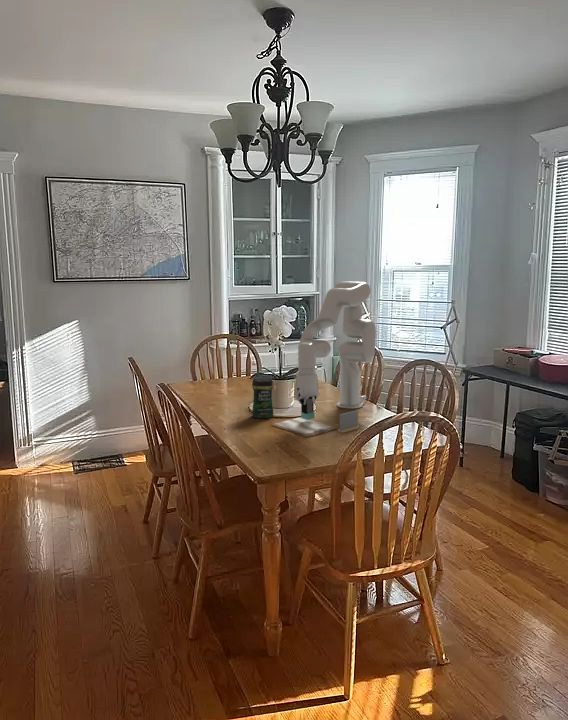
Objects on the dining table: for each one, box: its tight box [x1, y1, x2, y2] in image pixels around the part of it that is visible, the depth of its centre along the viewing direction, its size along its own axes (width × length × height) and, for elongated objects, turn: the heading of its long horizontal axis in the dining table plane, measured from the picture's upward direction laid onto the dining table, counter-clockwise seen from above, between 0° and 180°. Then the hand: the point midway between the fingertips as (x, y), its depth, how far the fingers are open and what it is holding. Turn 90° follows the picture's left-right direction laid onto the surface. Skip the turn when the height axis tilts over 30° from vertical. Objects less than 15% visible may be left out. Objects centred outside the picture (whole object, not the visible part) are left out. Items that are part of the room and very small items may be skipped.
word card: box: [337, 409, 361, 434], centre depth 245 cm, size 10×3×8 cm, turn 129°
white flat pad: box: [271, 416, 338, 439], centre depth 250 cm, size 17×23×2 cm
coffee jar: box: [251, 376, 274, 419], centre depth 265 cm, size 10×8×19 cm
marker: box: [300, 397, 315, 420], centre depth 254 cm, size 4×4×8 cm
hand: (307, 411), depth 254 cm, fingers closed on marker, 3 cm apart
